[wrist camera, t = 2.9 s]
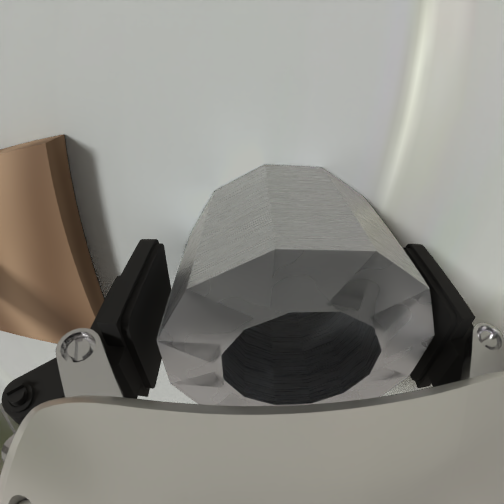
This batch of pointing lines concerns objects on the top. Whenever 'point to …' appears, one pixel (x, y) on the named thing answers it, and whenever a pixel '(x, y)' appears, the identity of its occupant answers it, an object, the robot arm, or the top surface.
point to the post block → (43, 245)
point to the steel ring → (292, 296)
